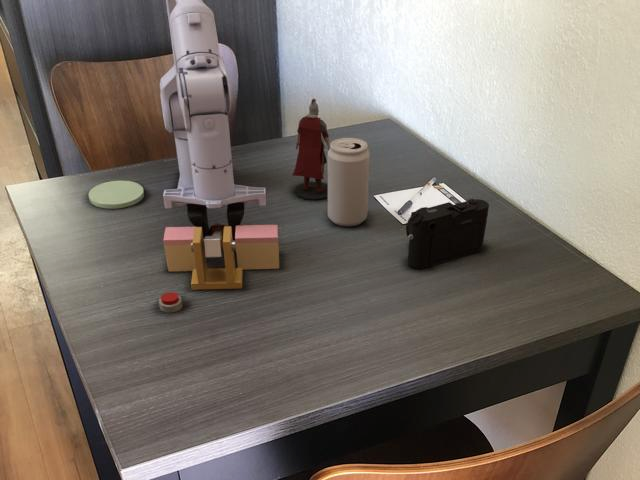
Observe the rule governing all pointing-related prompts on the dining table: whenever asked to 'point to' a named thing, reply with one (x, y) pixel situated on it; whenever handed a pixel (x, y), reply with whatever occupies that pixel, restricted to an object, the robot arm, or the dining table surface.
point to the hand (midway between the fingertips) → (221, 250)
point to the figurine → (311, 155)
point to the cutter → (214, 241)
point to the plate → (116, 194)
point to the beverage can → (348, 181)
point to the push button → (170, 302)
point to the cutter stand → (219, 276)
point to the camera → (446, 232)
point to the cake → (257, 246)
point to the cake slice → (179, 248)
